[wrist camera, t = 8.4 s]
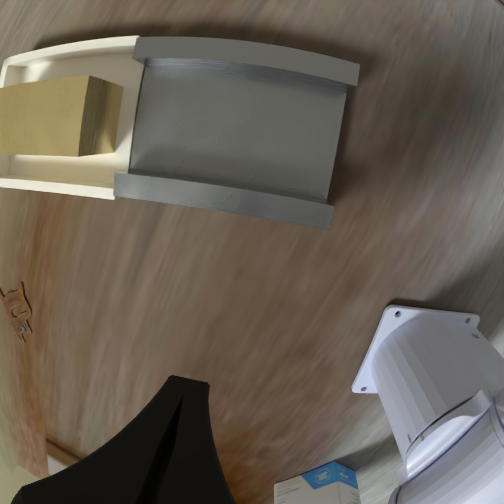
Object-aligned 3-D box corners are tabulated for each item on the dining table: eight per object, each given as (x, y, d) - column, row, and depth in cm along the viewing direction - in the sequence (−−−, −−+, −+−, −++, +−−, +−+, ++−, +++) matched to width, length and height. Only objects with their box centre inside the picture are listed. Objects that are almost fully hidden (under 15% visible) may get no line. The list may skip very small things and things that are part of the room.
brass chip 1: (70, 88, 15) (31, 81, 11) (62, 149, 16) (22, 154, 12) (28, 93, 14) (-10, 90, 11) (22, 149, 16) (-17, 155, 12)
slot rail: (344, 76, 15) (360, 64, 12) (318, 216, 17) (329, 230, 15) (155, 52, 14) (136, 37, 12) (135, 187, 17) (113, 195, 14)
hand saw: (118, 456, 28) (116, 460, 28) (88, 449, 29) (86, 453, 28) (27, 279, 20) (22, 282, 20) (-2, 280, 21) (-6, 283, 20)
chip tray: (152, 46, 14) (138, 35, 12) (130, 193, 17) (114, 199, 15) (23, 62, 14) (4, 58, 12) (9, 180, 17) (-10, 185, 15)
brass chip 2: (123, 86, 15) (89, 75, 11) (114, 152, 16) (78, 157, 12) (70, 89, 15) (31, 82, 11) (62, 149, 16) (22, 155, 12)
